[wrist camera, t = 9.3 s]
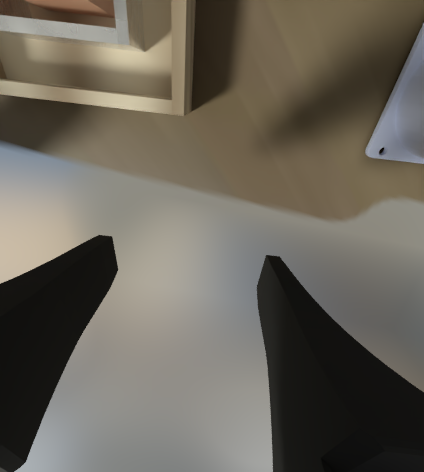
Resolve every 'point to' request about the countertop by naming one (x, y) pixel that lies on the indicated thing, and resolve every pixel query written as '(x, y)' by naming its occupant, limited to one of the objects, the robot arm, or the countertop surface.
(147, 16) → the walled box
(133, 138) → the countertop surface
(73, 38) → the frame
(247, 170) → the countertop surface
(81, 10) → the tan-topped block
